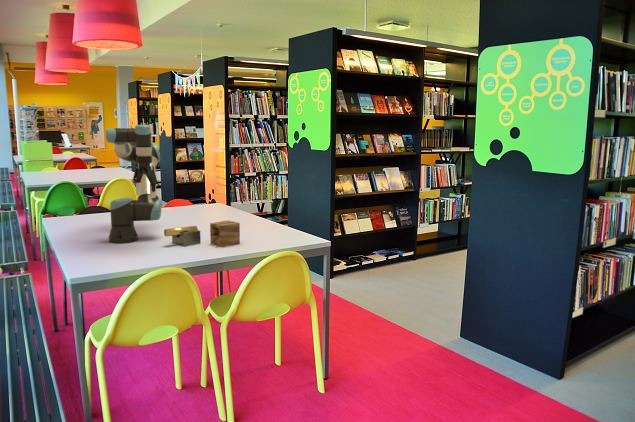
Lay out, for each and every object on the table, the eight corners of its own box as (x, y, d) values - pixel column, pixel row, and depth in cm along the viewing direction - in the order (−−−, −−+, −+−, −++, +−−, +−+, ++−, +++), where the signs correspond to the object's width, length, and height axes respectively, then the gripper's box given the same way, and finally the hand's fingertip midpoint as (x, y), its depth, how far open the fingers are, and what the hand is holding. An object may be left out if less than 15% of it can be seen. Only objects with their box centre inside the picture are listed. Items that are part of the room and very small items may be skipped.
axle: (168, 237, 259) (168, 229, 259) (164, 235, 262) (164, 228, 262) (197, 233, 272) (197, 226, 272) (193, 232, 275) (193, 225, 275)
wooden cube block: (210, 244, 269) (210, 223, 267) (228, 240, 277) (228, 220, 275) (221, 247, 262) (221, 225, 260) (239, 243, 271) (239, 222, 269)
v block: (172, 242, 271) (171, 230, 270) (188, 239, 278) (187, 227, 277) (184, 246, 263) (184, 233, 262) (200, 243, 270) (200, 230, 269)
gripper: (164, 156, 249) (165, 198, 253) (138, 153, 265) (139, 193, 269) (150, 157, 243) (152, 200, 247) (124, 154, 259) (126, 194, 263)
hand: (145, 196), depth 258 cm, fingers open, 13 cm apart
